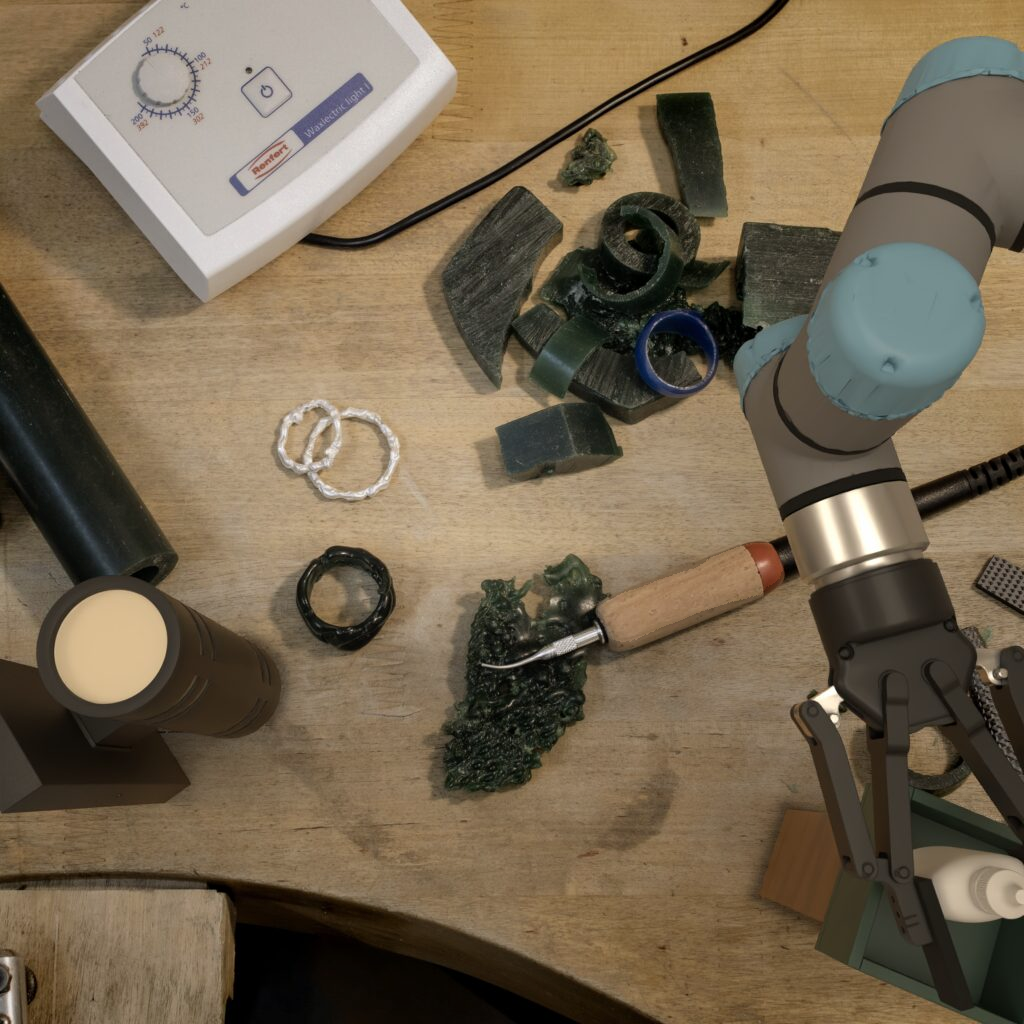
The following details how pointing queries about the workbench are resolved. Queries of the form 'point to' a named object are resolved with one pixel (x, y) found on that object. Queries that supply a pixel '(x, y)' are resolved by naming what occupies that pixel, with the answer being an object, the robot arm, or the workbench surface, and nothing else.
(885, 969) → the waste bin
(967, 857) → the eye dropper bottle
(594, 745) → the workbench surface
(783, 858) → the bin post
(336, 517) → the workbench surface
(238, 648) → the light fixture
